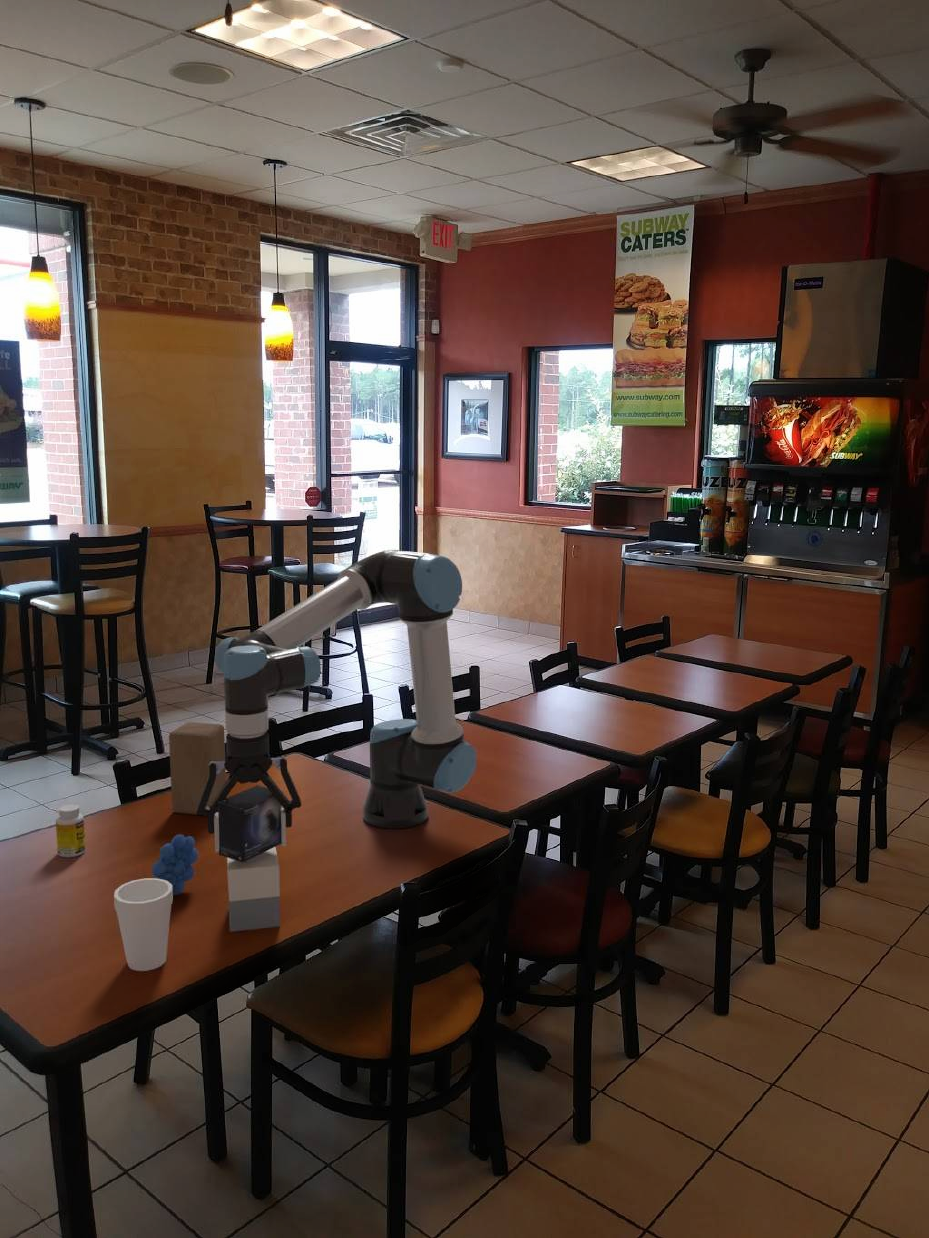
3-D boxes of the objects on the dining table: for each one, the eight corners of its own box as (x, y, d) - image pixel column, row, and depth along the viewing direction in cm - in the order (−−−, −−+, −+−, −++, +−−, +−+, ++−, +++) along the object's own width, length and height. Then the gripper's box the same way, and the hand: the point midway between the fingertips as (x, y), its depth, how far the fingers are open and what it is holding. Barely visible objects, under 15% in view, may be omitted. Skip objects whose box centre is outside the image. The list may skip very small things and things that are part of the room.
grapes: (181, 878, 200) (179, 822, 198) (207, 885, 197) (204, 829, 195) (137, 901, 190) (134, 842, 188) (163, 909, 187) (160, 850, 185)
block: (210, 817, 232) (206, 735, 228) (170, 813, 234) (166, 732, 230) (228, 802, 241) (225, 723, 238) (190, 798, 243) (187, 720, 240)
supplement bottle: (80, 858, 209) (77, 812, 207) (53, 858, 209) (50, 812, 207) (89, 847, 214) (86, 802, 213) (63, 847, 214) (60, 802, 212)
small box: (244, 864, 176) (242, 808, 174) (217, 855, 179) (215, 801, 177) (284, 843, 185) (282, 790, 183) (258, 836, 188) (256, 783, 186)
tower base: (277, 904, 190) (276, 875, 189) (280, 926, 182) (279, 896, 180) (229, 909, 188) (228, 879, 187) (229, 932, 179) (228, 901, 178)
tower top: (275, 874, 189) (275, 845, 188) (279, 896, 181) (279, 865, 180) (227, 879, 187) (226, 850, 186) (229, 901, 178) (228, 870, 177)
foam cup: (181, 947, 174) (178, 878, 171) (168, 975, 165) (164, 903, 162) (127, 947, 174) (123, 878, 171) (110, 975, 164) (106, 903, 162)
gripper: (311, 722, 184) (313, 832, 188) (180, 729, 179) (185, 843, 183) (315, 734, 177) (317, 848, 181) (178, 742, 172) (183, 860, 176)
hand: (250, 846), depth 182 cm, fingers closed on small box, 11 cm apart
